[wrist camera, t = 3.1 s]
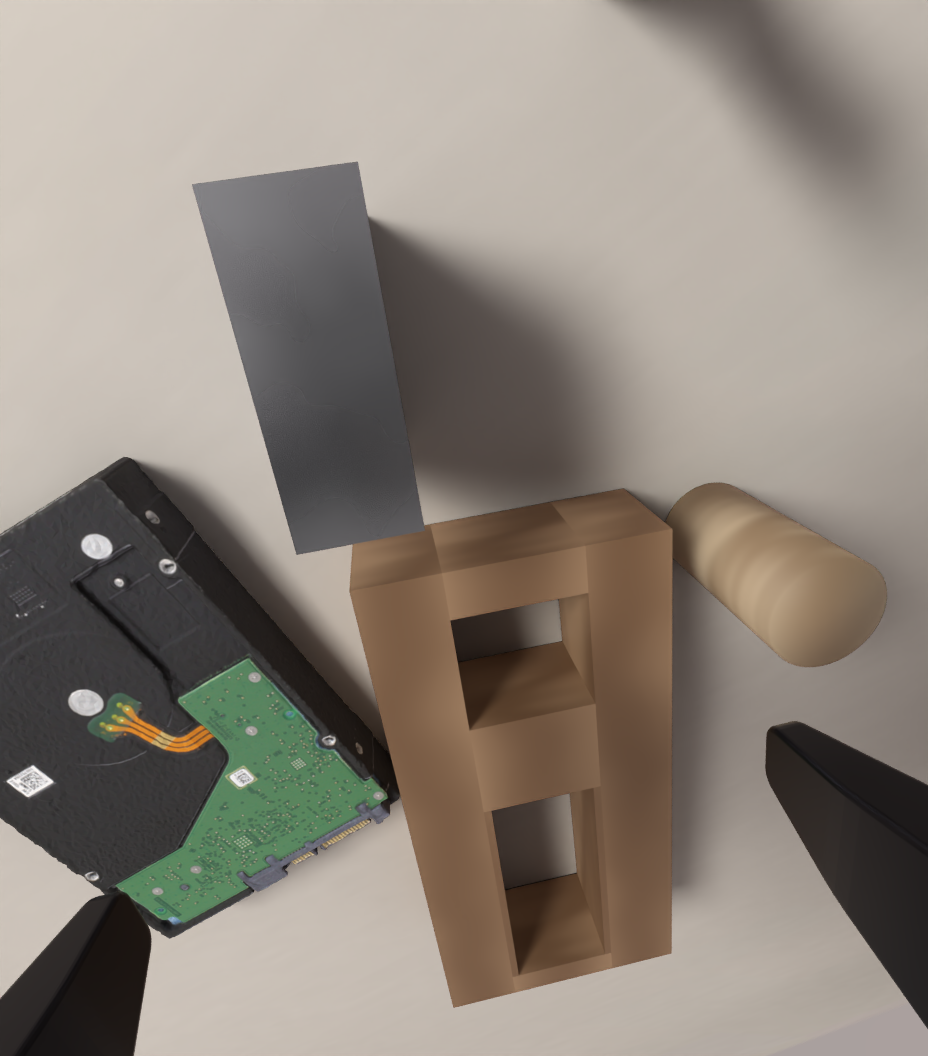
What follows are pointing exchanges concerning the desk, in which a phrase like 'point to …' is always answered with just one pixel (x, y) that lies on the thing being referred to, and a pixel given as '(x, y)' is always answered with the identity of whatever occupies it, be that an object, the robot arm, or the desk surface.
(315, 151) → the desk surface
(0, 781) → the disk drive
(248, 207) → the tall grey rectangular prism
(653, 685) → the socket board
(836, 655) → the round dowel
